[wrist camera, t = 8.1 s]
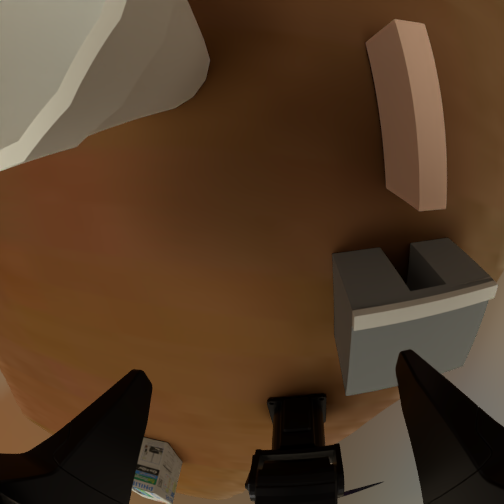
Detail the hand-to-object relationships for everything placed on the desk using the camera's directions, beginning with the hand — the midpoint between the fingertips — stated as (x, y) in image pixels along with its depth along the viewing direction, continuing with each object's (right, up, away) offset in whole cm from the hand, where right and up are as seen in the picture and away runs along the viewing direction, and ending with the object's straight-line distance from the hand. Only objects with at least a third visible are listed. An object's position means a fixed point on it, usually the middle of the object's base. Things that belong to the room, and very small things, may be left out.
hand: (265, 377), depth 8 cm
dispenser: (+11, +1, +12) cm, 16 cm away
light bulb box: (-17, -33, +31) cm, 48 cm away
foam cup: (-6, +16, +6) cm, 19 cm away
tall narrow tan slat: (+8, +13, +6) cm, 17 cm away
